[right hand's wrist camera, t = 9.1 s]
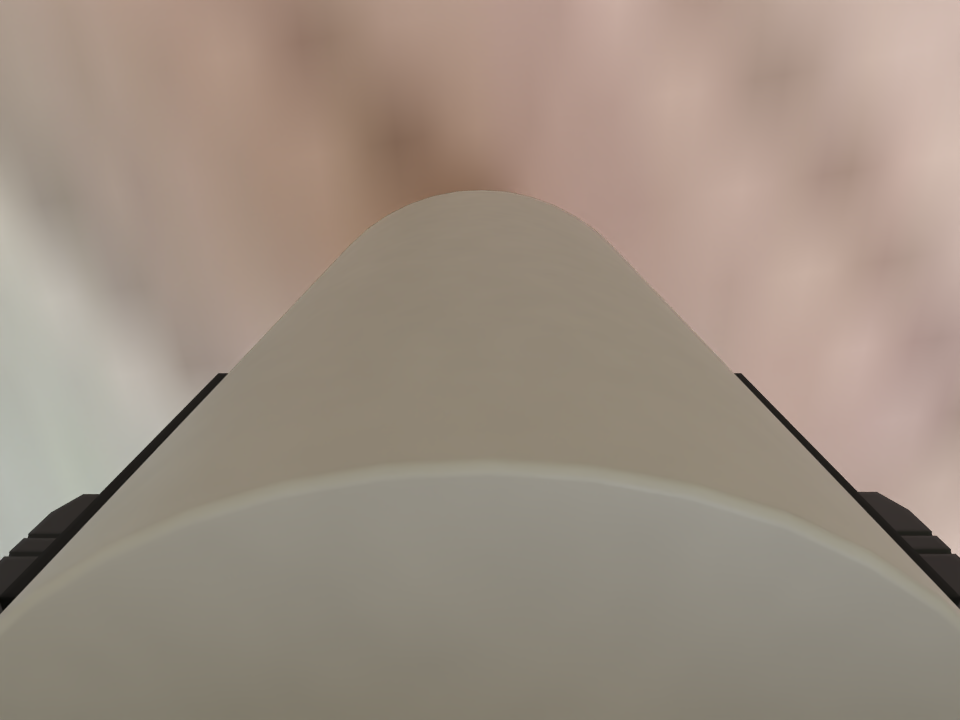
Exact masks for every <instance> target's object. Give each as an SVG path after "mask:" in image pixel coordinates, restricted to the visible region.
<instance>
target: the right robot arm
mask: <svg viewBox="0 0 960 720" xmlns="http://www.w3.org/2000/svg"><path fill="white" fill-rule="evenodd" d="M227 374H228V373H218V374H217V375H216V376H215V377H214V378H213V379H212V380H211V381H210V382H209V383H208V384H207V386H206V387H205V388H204V389H203V390H202V391H201V392H200V393H199V394H198V395H197V396H196V397H195V398H194V399H193V400H192V401H191V402H190V403H189V404H188V405H187V406H186V407H185V408H184V409H183V410H182V411H181V412H180V413H179V414H178V415H177V416H176V417H175V418H174V419H173V420H172V421H171V422H170V423H169V424H168V425H167V426H166V427H165V428H164V429H163V430H162V431H161V432H160V433H159V434H158V435H157V436H156V437H155V438H154V439H153V440H152V441H151V442H150V443H149V444H148V446H147V447H146V448H145V449H144V450H143V451H142V452H141V453H140V454H139V455H138V456H137V457H136V458H135V459H134V460H133V461H132V462H131V463H130V464H129V465H128V466H127V467H126V468H125V469H124V470H123V471H122V472H121V473H120V474H119V475H118V476H117V477H116V478H115V479H114V480H113V481H112V482H111V483H110V484H109V485H108V486H107V487H106V488H105V489H104V490H103V491H102V492H101V493H100V494H83V495H81V496H79V497H78V498H76V499H74V500H72V501H71V502H69V503H67V504H65V505H63V506H62V507H60V508H58V509H56V510H55V511H53V512H51V513H50V514H49V515H48V516H47V517H46V518H45V519H44V520H43V521H42V522H40V523H39V524H38V525H37V526H36V527H35V528H34V529H33V530H32V531H31V532H30V533H29V534H28V538H24V539H23V540H21V541H20V542H19V543H18V544H17V545H16V546H15V547H14V548H13V549H12V550H11V551H10V552H9V556H8V557H3V558H2V559H1V560H0V614H1V613H2V612H3V611H4V610H5V609H6V608H7V607H8V606H9V605H10V603H11V602H12V601H13V600H14V599H15V598H16V597H17V596H18V595H19V594H20V593H21V592H22V591H23V590H24V589H25V588H26V587H27V586H28V584H29V583H30V582H31V581H32V580H33V579H34V578H35V577H36V576H37V575H38V574H39V573H40V572H41V571H42V570H43V569H44V568H45V567H46V565H47V564H48V563H49V562H50V561H51V560H52V559H53V558H54V557H55V556H56V555H57V554H58V553H59V552H60V551H61V550H62V549H63V548H64V546H65V545H66V544H67V543H68V542H69V541H70V540H71V539H72V538H73V537H74V536H75V535H76V534H77V533H78V532H79V531H80V530H81V529H82V527H83V526H84V525H85V524H86V523H87V522H88V521H89V520H90V519H91V518H92V517H93V516H94V515H95V514H96V513H97V512H98V511H99V510H100V508H101V507H102V506H103V505H104V504H105V503H106V502H107V501H108V500H109V499H110V498H111V497H112V496H113V495H114V494H115V493H116V492H117V491H118V489H119V488H120V487H121V486H122V485H123V484H124V483H125V482H126V481H127V480H128V479H129V478H130V477H131V476H132V475H133V474H134V473H135V472H136V470H137V469H138V468H139V467H140V466H141V465H142V464H143V463H144V462H145V461H146V460H147V459H148V458H149V457H150V456H151V455H152V454H153V453H154V451H155V450H156V449H157V448H158V447H159V446H160V445H161V444H162V443H163V442H164V441H165V440H166V439H167V438H168V437H169V436H170V435H171V434H172V432H173V431H174V430H175V429H176V428H177V427H178V426H179V425H180V424H181V423H182V422H183V421H184V420H185V419H186V418H187V417H188V416H189V415H190V413H191V412H192V411H193V410H194V409H195V408H196V407H197V406H198V405H199V404H200V403H201V402H202V401H203V400H204V399H205V398H206V397H207V396H208V394H209V393H210V392H211V391H212V390H213V389H214V388H215V387H216V386H217V385H218V384H219V383H220V382H221V381H222V380H223V379H224V378H225V377H226V375H227ZM734 374H735V375H736V376H737V377H738V378H739V379H740V380H741V381H742V382H743V383H744V384H745V385H746V387H747V388H748V389H749V390H750V391H751V392H752V393H753V394H754V395H755V396H756V397H757V398H758V399H759V400H760V401H761V402H762V403H763V404H764V405H765V406H766V407H767V408H768V409H769V411H770V412H771V413H772V414H773V415H774V416H775V417H776V418H777V419H778V420H779V421H780V422H781V423H782V424H783V425H784V426H785V427H786V428H787V429H788V430H789V431H790V432H791V434H792V435H793V436H794V437H795V438H796V439H797V440H798V441H799V442H800V443H801V444H802V445H803V446H804V447H805V448H806V449H807V450H808V451H809V452H810V453H811V454H812V455H813V457H814V458H815V459H816V460H817V461H818V462H819V463H820V464H821V465H822V466H823V467H824V468H825V469H826V470H827V471H828V472H829V473H830V474H831V475H832V476H833V477H834V478H835V479H836V481H837V482H838V483H839V484H840V485H841V486H842V487H843V488H844V489H845V490H846V491H847V492H848V493H849V494H850V495H851V496H852V497H853V498H854V499H855V500H856V501H857V502H858V504H859V505H860V506H861V507H862V508H863V509H864V510H865V511H866V512H867V513H868V514H869V515H870V516H871V517H872V518H873V519H874V520H875V521H876V522H877V523H878V524H879V525H880V527H881V528H882V529H883V530H884V531H885V532H886V533H887V534H888V535H889V536H890V537H891V538H892V539H893V540H894V541H895V542H896V543H897V544H898V545H899V546H900V547H901V548H902V550H903V551H904V552H905V553H906V554H907V555H908V556H909V557H910V558H911V559H912V560H913V561H914V562H915V563H916V564H917V565H918V566H919V567H920V568H921V569H922V570H923V571H924V572H925V574H926V575H927V576H928V577H929V578H930V579H931V580H932V581H933V582H934V583H935V584H936V585H937V586H938V587H939V588H940V589H941V590H942V591H943V592H944V593H945V594H946V595H947V597H948V598H949V599H950V600H951V601H952V602H953V603H954V604H955V605H956V606H957V607H958V608H959V609H960V557H958V556H957V555H956V554H951V549H950V548H949V547H948V546H947V545H946V544H945V543H944V542H942V541H941V540H940V539H939V538H938V537H937V536H932V531H931V530H930V529H929V528H928V527H926V526H925V525H924V524H923V523H922V522H921V521H920V520H919V519H918V518H917V517H916V516H915V515H914V514H913V513H912V512H910V511H909V510H908V509H906V508H904V507H903V506H901V505H899V504H897V503H895V502H894V501H892V500H890V499H888V498H887V497H885V496H883V495H881V494H879V493H878V492H857V491H856V490H855V489H854V488H853V487H852V486H851V485H850V484H849V483H848V482H847V481H846V480H845V479H844V478H843V476H842V475H841V474H840V473H839V472H838V471H837V470H836V469H835V468H834V467H833V466H832V465H831V464H830V463H829V462H828V461H827V460H826V459H825V458H824V457H823V456H822V455H821V454H820V453H819V452H818V451H817V450H816V449H815V448H814V447H813V446H812V445H811V444H810V443H809V442H808V441H807V440H806V439H805V438H804V437H803V436H802V435H801V434H800V433H799V432H798V431H797V430H796V429H795V428H794V427H793V426H792V425H791V424H790V423H789V422H788V421H787V420H786V419H785V417H784V416H783V415H782V414H781V413H780V412H779V411H778V410H777V409H776V408H775V407H774V406H773V405H772V404H771V403H770V402H769V401H768V400H767V399H766V398H765V397H764V396H763V395H762V394H761V393H760V392H759V391H758V390H757V389H756V388H755V387H754V386H753V385H752V384H751V383H750V382H749V381H748V380H747V379H746V378H745V377H744V376H743V375H742V374H741V373H734Z"/></svg>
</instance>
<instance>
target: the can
mask: <svg viewBox="0 0 960 720" xmlns="http://www.w3.org/2000/svg"><path fill="white" fill-rule="evenodd" d="M0 720H960V609H959V608H958V607H957V606H956V605H955V604H954V603H953V602H952V601H951V600H950V599H949V598H948V597H947V595H946V594H945V593H944V592H943V591H942V590H941V589H940V588H939V587H938V586H937V585H936V584H935V583H934V582H933V581H932V580H931V579H930V578H929V577H928V576H927V575H926V574H925V572H924V571H923V570H922V569H921V568H920V567H919V566H918V565H917V564H916V563H915V562H914V561H913V560H912V559H911V558H910V557H909V556H908V555H907V554H906V553H905V552H904V551H903V550H902V548H901V547H900V546H899V545H898V544H897V543H896V542H895V541H894V540H893V539H892V538H891V537H890V536H889V535H888V534H887V533H886V532H885V531H884V530H883V529H882V528H881V527H880V525H879V524H878V523H877V522H876V521H875V520H874V519H873V518H872V517H871V516H870V515H869V514H868V513H867V512H866V511H865V510H864V509H863V508H862V507H861V506H860V505H859V504H858V502H857V501H856V500H855V499H854V498H853V497H852V496H851V495H850V494H849V493H848V492H847V491H846V490H845V489H844V488H843V487H842V486H841V485H840V484H839V483H838V482H837V481H836V479H835V478H834V477H833V476H832V475H831V474H830V473H829V472H828V471H827V470H826V469H825V468H824V467H823V466H822V465H821V464H820V463H819V462H818V461H817V460H816V459H815V458H814V457H813V455H812V454H811V453H810V452H809V451H808V450H807V449H806V448H805V447H804V446H803V445H802V444H801V443H800V442H799V441H798V440H797V439H796V438H795V437H794V436H793V435H792V434H791V432H790V431H789V430H788V429H787V428H786V427H785V426H784V425H783V424H782V423H781V422H780V421H779V420H778V419H777V418H776V417H775V416H774V415H773V414H772V413H771V412H770V411H769V409H768V408H767V407H766V406H765V405H764V404H763V403H762V402H761V401H760V400H759V399H758V398H757V397H756V396H755V395H754V394H753V393H752V392H751V391H750V390H749V389H748V388H747V387H746V385H745V384H744V383H743V382H742V381H741V380H740V379H739V378H738V377H737V376H736V375H735V374H734V373H733V372H732V371H731V370H730V369H729V368H728V367H727V366H726V365H725V364H724V362H723V361H722V360H721V359H720V358H719V357H718V356H717V355H716V354H715V353H714V352H713V351H712V350H711V349H710V348H709V347H708V346H707V345H706V344H705V343H704V342H703V341H702V339H701V338H700V337H699V336H698V335H697V334H696V333H695V332H694V331H693V330H692V329H691V328H690V327H689V326H688V325H687V324H686V323H685V322H684V321H683V320H682V319H681V318H680V316H679V315H678V314H677V313H676V312H675V311H674V310H673V309H672V308H671V307H670V306H669V305H668V304H667V303H666V302H665V301H664V300H663V299H662V298H661V297H660V296H659V295H658V294H657V292H656V291H655V290H654V289H653V288H652V287H651V286H650V285H649V284H648V283H647V282H646V281H645V280H644V279H643V278H642V277H641V276H640V275H639V274H638V273H637V272H636V271H635V269H634V268H633V267H632V266H631V265H630V264H629V263H628V262H627V261H626V260H625V259H624V258H623V257H622V256H621V255H620V254H619V253H618V252H617V251H616V250H615V249H614V248H613V247H612V246H611V245H610V244H609V243H608V242H607V241H606V240H605V239H604V238H603V237H602V236H601V235H600V234H599V233H598V232H597V231H596V230H594V229H593V228H591V227H590V226H589V225H587V224H586V223H584V222H583V221H582V220H580V219H579V218H577V217H576V216H574V215H572V214H570V213H568V212H566V211H564V210H562V209H560V208H559V207H557V206H555V205H552V204H549V203H547V202H544V201H541V200H538V199H535V198H533V197H529V196H524V195H519V194H515V193H510V192H502V191H489V190H474V191H457V192H452V193H447V194H442V195H437V196H432V197H429V198H426V199H423V200H420V201H417V202H414V203H412V204H409V205H407V206H405V207H403V208H401V209H399V210H397V211H395V212H393V213H391V214H389V215H387V216H386V217H384V218H383V219H381V220H380V221H378V222H377V223H375V224H374V225H373V226H371V227H370V228H368V229H367V230H366V231H365V232H364V233H363V234H362V235H360V236H359V237H358V238H357V239H356V240H355V241H354V242H353V243H352V244H351V245H350V246H349V247H348V248H347V249H346V250H345V251H344V252H343V253H342V254H341V255H340V256H339V257H338V258H337V259H336V260H335V261H334V263H333V264H332V265H331V266H330V267H329V268H328V269H327V270H326V271H325V272H324V273H323V274H322V275H321V276H320V277H319V278H318V279H317V280H316V282H315V283H314V284H313V285H312V286H311V287H310V288H309V289H308V290H307V291H306V292H305V293H304V294H303V295H302V296H301V297H300V298H299V299H298V301H297V302H296V303H295V304H294V305H293V306H292V307H291V308H290V309H289V310H288V311H287V312H286V313H285V314H284V315H283V316H282V317H281V318H280V320H279V321H278V322H277V323H276V324H275V325H274V326H273V327H272V328H271V329H270V330H269V331H268V332H267V333H266V334H265V335H264V336H263V337H262V339H261V340H260V341H259V342H258V343H257V344H256V345H255V346H254V347H253V348H252V349H251V350H250V351H249V352H248V353H247V354H246V355H245V356H244V358H243V359H242V360H241V361H240V362H239V363H238V364H237V365H236V366H235V367H234V368H233V369H232V370H231V371H230V372H229V373H228V374H227V375H226V377H225V378H224V379H223V380H222V381H221V382H220V383H219V384H218V385H217V386H216V387H215V388H214V389H213V390H212V391H211V392H210V393H209V394H208V396H207V397H206V398H205V399H204V400H203V401H202V402H201V403H200V404H199V405H198V406H197V407H196V408H195V409H194V410H193V411H192V412H191V413H190V415H189V416H188V417H187V418H186V419H185V420H184V421H183V422H182V423H181V424H180V425H179V426H178V427H177V428H176V429H175V430H174V431H173V432H172V434H171V435H170V436H169V437H168V438H167V439H166V440H165V441H164V442H163V443H162V444H161V445H160V446H159V447H158V448H157V449H156V450H155V451H154V453H153V454H152V455H151V456H150V457H149V458H148V459H147V460H146V461H145V462H144V463H143V464H142V465H141V466H140V467H139V468H138V469H137V470H136V472H135V473H134V474H133V475H132V476H131V477H130V478H129V479H128V480H127V481H126V482H125V483H124V484H123V485H122V486H121V487H120V488H119V489H118V491H117V492H116V493H115V494H114V495H113V496H112V497H111V498H110V499H109V500H108V501H107V502H106V503H105V504H104V505H103V506H102V507H101V508H100V510H99V511H98V512H97V513H96V514H95V515H94V516H93V517H92V518H91V519H90V520H89V521H88V522H87V523H86V524H85V525H84V526H83V527H82V529H81V530H80V531H79V532H78V533H77V534H76V535H75V536H74V537H73V538H72V539H71V540H70V541H69V542H68V543H67V544H66V545H65V546H64V548H63V549H62V550H61V551H60V552H59V553H58V554H57V555H56V556H55V557H54V558H53V559H52V560H51V561H50V562H49V563H48V564H47V565H46V567H45V568H44V569H43V570H42V571H41V572H40V573H39V574H38V575H37V576H36V577H35V578H34V579H33V580H32V581H31V582H30V583H29V584H28V586H27V587H26V588H25V589H24V590H23V591H22V592H21V593H20V594H19V595H18V596H17V597H16V598H15V599H14V600H13V601H12V602H11V603H10V605H9V606H8V607H7V608H6V609H5V610H4V611H3V612H2V613H1V614H0Z"/></svg>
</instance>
